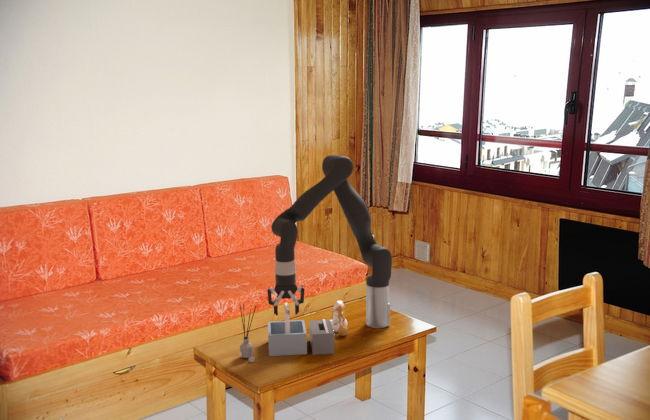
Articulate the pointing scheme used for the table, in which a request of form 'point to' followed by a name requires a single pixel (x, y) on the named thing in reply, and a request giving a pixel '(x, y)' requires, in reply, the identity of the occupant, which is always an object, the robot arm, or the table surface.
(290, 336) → the bin
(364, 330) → the table surface
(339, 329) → the figurine
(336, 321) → the white creature statuette
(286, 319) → the ticket
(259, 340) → the table surface
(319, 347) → the dispenser
